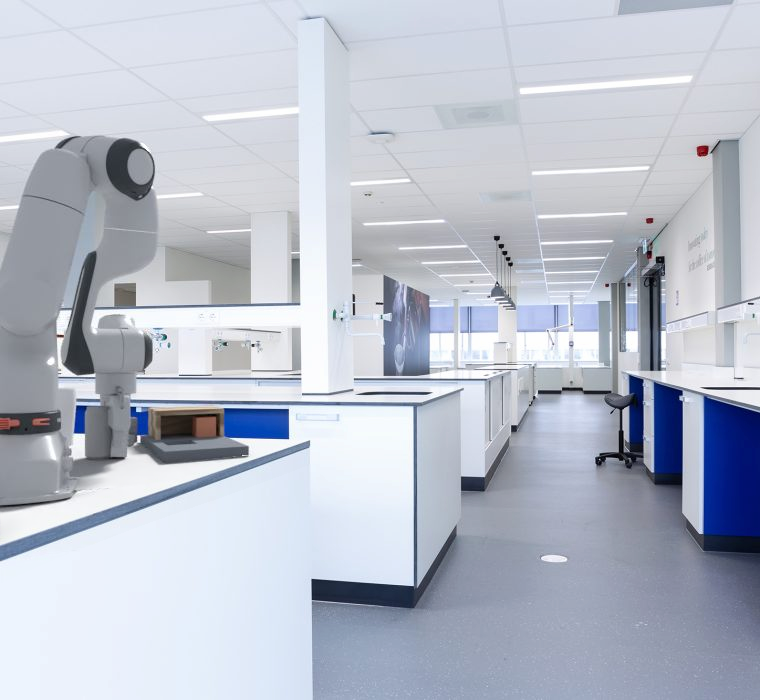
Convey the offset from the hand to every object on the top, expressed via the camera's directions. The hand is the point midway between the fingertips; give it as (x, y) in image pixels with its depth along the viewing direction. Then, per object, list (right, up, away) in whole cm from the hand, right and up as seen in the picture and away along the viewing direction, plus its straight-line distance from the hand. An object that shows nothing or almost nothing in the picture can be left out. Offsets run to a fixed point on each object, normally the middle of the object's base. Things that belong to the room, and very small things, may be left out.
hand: (115, 446), depth 160 cm
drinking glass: (-21, -3, +19) cm, 29 cm away
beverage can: (-4, -3, +1) cm, 5 cm away
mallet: (-8, -3, +29) cm, 30 cm away
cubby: (+10, 0, +23) cm, 25 cm away
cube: (+15, 0, +22) cm, 27 cm away
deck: (+14, -3, +13) cm, 19 cm away
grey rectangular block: (-2, -2, +9) cm, 9 cm away
